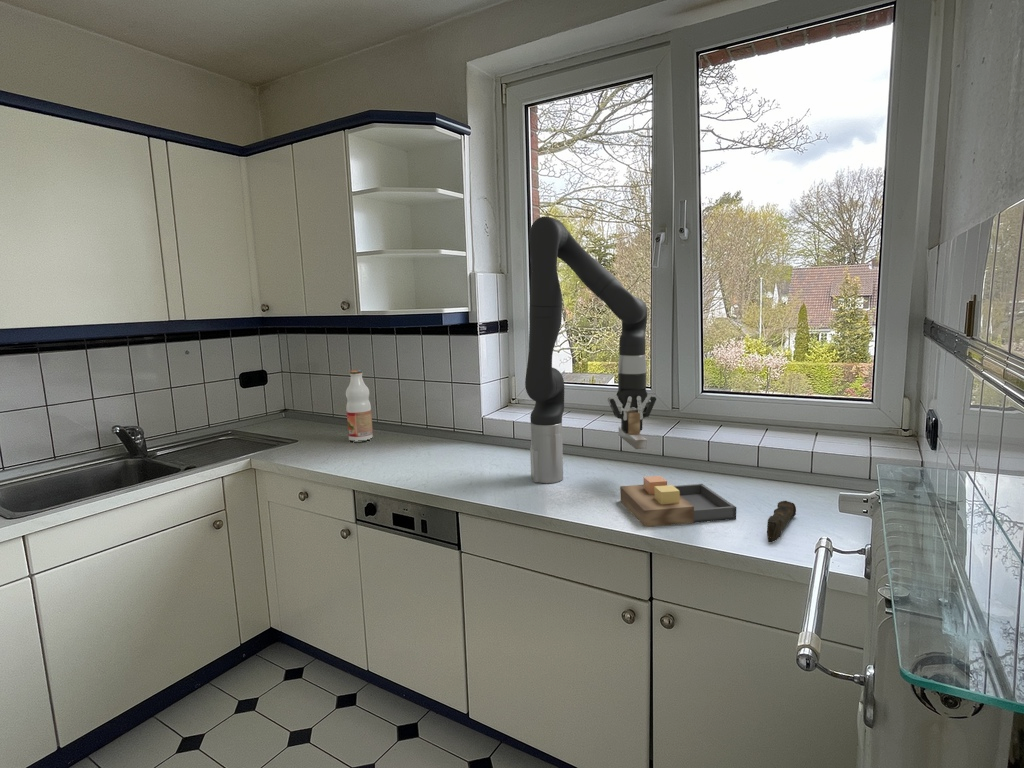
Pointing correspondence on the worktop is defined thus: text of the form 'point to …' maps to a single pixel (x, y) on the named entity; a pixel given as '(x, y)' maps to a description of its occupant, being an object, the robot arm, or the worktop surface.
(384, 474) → the worktop surface
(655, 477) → the salmon orange block
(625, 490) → the walnut slab
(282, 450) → the worktop surface
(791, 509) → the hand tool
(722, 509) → the box
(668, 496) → the yellow block
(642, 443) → the oak scraper
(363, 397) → the fruit juice
